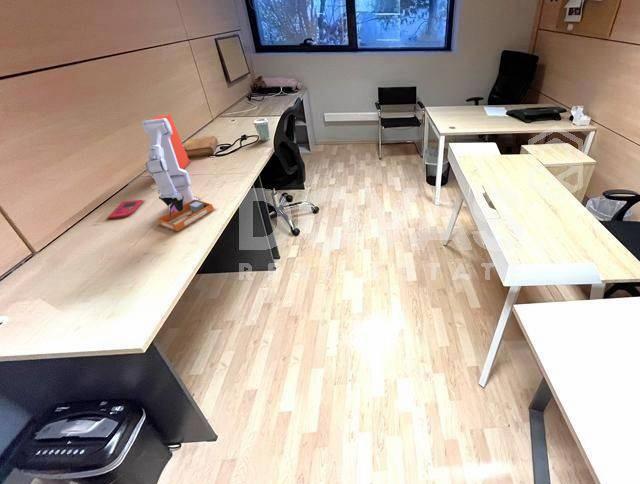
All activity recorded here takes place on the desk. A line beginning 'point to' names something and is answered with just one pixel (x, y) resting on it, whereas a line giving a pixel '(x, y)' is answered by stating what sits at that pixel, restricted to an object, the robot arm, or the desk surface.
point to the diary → (200, 146)
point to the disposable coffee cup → (262, 128)
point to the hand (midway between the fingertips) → (176, 209)
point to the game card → (172, 209)
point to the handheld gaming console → (125, 209)
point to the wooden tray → (167, 220)
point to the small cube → (196, 206)
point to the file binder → (176, 144)
